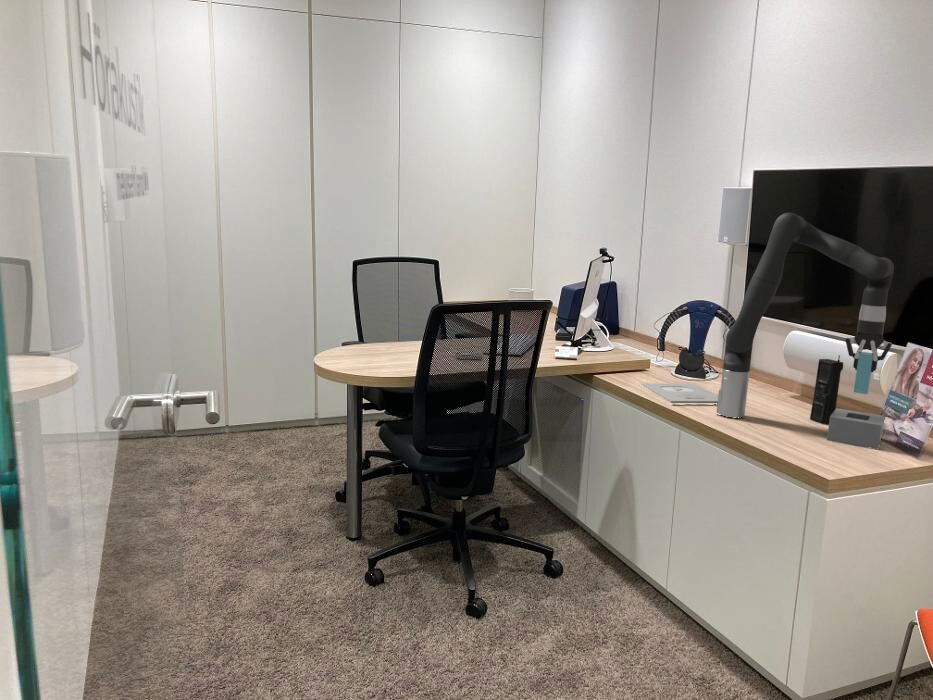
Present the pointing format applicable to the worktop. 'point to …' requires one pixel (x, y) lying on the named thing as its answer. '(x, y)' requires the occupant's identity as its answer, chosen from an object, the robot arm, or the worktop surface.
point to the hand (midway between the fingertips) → (864, 370)
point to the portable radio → (826, 390)
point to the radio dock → (855, 428)
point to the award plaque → (682, 393)
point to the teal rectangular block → (863, 373)
